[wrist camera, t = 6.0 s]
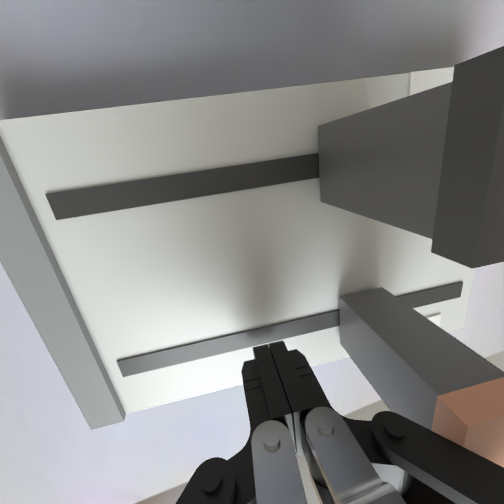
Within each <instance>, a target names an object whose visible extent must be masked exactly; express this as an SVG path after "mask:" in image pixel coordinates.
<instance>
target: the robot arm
mask: <svg viewBox="0 0 504 504" xmlns="http://www.w3.org/2000/svg"><path fill="white" fill-rule="evenodd" d="M253 354H254V359H253V360H248V361H244V363H243V367H242V370H241V374H242V379H243V385H244V391H245V397H246V403H247V408H248V414H249V420H250V427H251V431H250V436H249V439H248V441H247V443H246V445H245V446H244V448H243V449H242V450H241V451H240V452H238V453H237V454H236V455H234V456H233V457H231V458H230V459H229V460H227V461H226V460H225V459H223V458H219V457H216V458H211V459H208V460H206V461H205V462H203V463H202V464H201V465H200V466H199V467H198V468H197V469H196V471H195V472H194V474H193V476H192V477H191V479H190V481H189V482H188V484H187V486H186V487H185V489H184V491H183V492H182V494H181V496H180V498H179V499H178V501H177V502H176V504H308V503H307V499H306V495H305V491H304V487H303V483H302V479H301V474H300V470H299V466H298V462H297V457H296V452H297V455H298V456H300V455H303V454H304V455H305V458H306V461H307V464H308V467H309V476H310V480H311V482H312V485H313V487H314V490H315V492H316V495H317V497H318V500H319V502H320V504H504V467H502V466H500V465H498V464H496V463H494V462H492V461H490V460H488V459H486V458H484V457H482V456H480V455H478V454H476V453H474V452H472V451H470V450H468V449H466V448H464V447H462V446H460V445H458V444H456V443H454V442H453V441H451V440H449V439H447V438H445V437H443V436H441V435H439V434H437V433H435V432H433V431H431V430H429V429H427V428H425V427H423V426H421V425H419V424H417V423H415V422H413V421H411V420H409V419H407V418H405V417H403V416H402V415H399V414H397V413H394V412H390V411H382V412H379V413H377V414H376V415H375V416H374V417H373V419H372V421H362V420H353V419H348V418H346V417H343V416H342V415H340V414H339V413H337V412H336V411H335V410H334V409H333V408H332V407H331V405H330V403H329V401H328V400H327V398H326V396H325V394H324V392H323V390H322V388H321V386H320V384H319V382H318V380H317V378H316V376H315V375H314V372H313V371H312V369H311V367H310V365H309V363H308V361H307V359H306V357H305V356H304V355H303V354H302V353H301V352H300V351H298V350H297V349H294V350H290V351H288V350H287V347H286V345H285V343H284V341H283V340H282V341H277V342H273V343H269V344H265V345H261V346H256V347H253ZM295 449H296V451H295Z"/></svg>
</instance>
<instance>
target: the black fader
mask: <svg viewBox="0 0 504 504" xmlns="http://www.w3.org/2000/svg"><path fill="white" fill-rule="evenodd" d="M318 150H319V176H320V201H321V202H323V203H326V204H329V205H332V206H335V207H338V208H341V209H344V210H347V211H350V212H352V213H355V214H358V215H361V216H364V217H367V218H370V219H373V220H376V221H379V222H382V223H385V224H388V225H391V226H394V227H397V228H400V229H403V230H406V231H409V232H412V233H415V234H418V235H421V236H424V237H427V238H430V239H432V247H431V253H434V254H436V255H439V256H441V257H444V258H446V259H449V260H452V261H454V262H457V263H459V264H462V265H464V266H467V267H469V268H477V267H481V266H486V265H490V264H495V263H499V262H504V46H503V47H500V48H498V49H495V50H493V51H490V52H488V53H485V54H482V55H480V56H477V57H475V58H472V59H470V60H467V61H465V62H462V63H459V64H457V65H454V73H453V81H452V82H450V83H447V84H444V85H441V86H437V87H434V88H431V89H428V90H425V91H422V92H419V93H416V94H413V95H410V96H407V97H404V98H401V99H398V100H395V101H392V102H389V103H386V104H383V105H380V106H377V107H374V108H371V109H368V110H365V111H362V112H359V113H356V114H353V115H349V116H346V117H343V118H340V119H337V120H334V121H331V122H328V123H325V124H322V125H319V126H318Z"/></svg>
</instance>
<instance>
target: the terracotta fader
mask: <svg viewBox="0 0 504 504" xmlns="http://www.w3.org/2000/svg"><path fill="white" fill-rule="evenodd" d="M339 309H340V344H341V345H342V347H343V348H344V349H345V351H346V352H347V353H348V355H349V356H350V357H351V359H352V360H353V361H354V363H355V364H356V365H357V367H358V368H359V369H360V371H361V372H362V373H363V375H364V376H365V377H366V379H367V380H368V381H369V383H370V384H371V385H372V387H373V388H374V389H375V391H376V392H377V393H378V395H379V396H380V397H381V399H382V400H383V401H384V403H385V404H386V405H387V407H388V408H389V409H390V411H391V412H394V413H397V414H399V415H402V416H403V417H405V418H407V419H409V420H411V421H413V422H415V423H417V424H419V425H421V426H423V427H425V428H427V429H429V430H431V431H433V432H435V433H437V434H439V435H441V436H443V437H445V438H447V439H449V440H451V441H453V442H454V443H456V444H458V445H460V446H462V447H464V448H466V449H468V450H470V451H472V452H474V453H476V454H478V455H480V456H482V457H484V458H486V459H488V460H490V461H492V462H494V463H496V464H498V465H500V466H502V467H504V372H503V371H502V370H500V369H499V368H497V367H496V366H494V365H493V364H492V363H490V362H489V361H487V360H486V359H484V358H483V357H482V356H480V355H479V354H477V353H476V352H474V351H473V350H472V349H470V348H469V347H467V346H466V345H464V344H463V343H462V342H460V341H459V340H457V339H456V338H454V337H453V336H452V335H450V334H449V333H447V332H446V331H444V330H443V329H442V328H440V327H439V326H437V325H436V324H434V323H433V322H432V321H430V320H429V319H427V318H426V317H424V316H423V315H422V314H420V313H419V312H417V311H416V310H414V309H413V308H412V307H410V306H409V305H407V304H406V303H404V302H403V301H402V300H400V299H399V298H397V297H396V296H394V295H393V294H392V293H390V292H389V291H387V290H386V289H384V288H383V287H380V288H375V289H371V290H366V291H362V292H357V293H353V294H348V295H344V296H340V297H339Z"/></svg>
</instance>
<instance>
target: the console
mask: <svg viewBox="0 0 504 504" xmlns="http://www.w3.org/2000/svg"><path fill="white" fill-rule="evenodd" d="M453 73H454V67H449V68H440V69H432V70H423V71H414V72H410V73H403V74H395V75H386V76H378V77H369V78H360V79H352V80H343V81H334V82H326V83H317V84H308V85H300V86H291V87H283V88H274V89H265V90H257V91H248V92H239V93H231V94H222V95H214V96H205V97H196V98H188V99H179V100H170V101H162V102H153V103H145V104H136V105H127V106H119V107H110V108H101V109H93V110H84V111H76V112H67V113H58V114H50V115H41V116H32V117H24V118H15V119H7V120H0V262H1V264H2V265H3V267H4V269H5V271H6V273H7V275H8V277H9V278H10V280H11V282H12V284H13V286H14V288H15V290H16V291H17V293H18V295H19V297H20V299H21V301H22V303H23V304H24V306H25V308H26V310H27V312H28V314H29V316H30V317H31V319H32V321H33V323H34V325H35V327H36V328H37V330H38V332H39V334H40V336H41V338H42V340H43V341H44V343H45V345H46V347H47V349H48V351H49V353H50V354H51V356H52V358H53V360H54V362H55V364H56V366H57V367H58V369H59V371H60V373H61V375H62V377H63V379H64V380H65V382H66V384H67V386H68V388H69V390H70V391H71V393H72V395H73V397H74V399H75V401H76V403H77V404H78V406H79V408H80V410H81V412H82V414H83V416H84V417H85V419H86V421H87V423H88V425H89V427H90V429H95V428H99V427H103V426H107V425H111V424H115V423H119V422H123V421H124V419H125V415H126V414H128V413H132V412H136V411H140V410H144V409H148V408H152V407H155V406H159V405H163V404H167V403H171V402H175V401H179V400H183V399H187V398H191V397H195V396H199V395H203V394H207V393H211V392H214V391H218V390H222V389H226V388H230V387H234V386H238V385H242V384H243V379H242V374H241V370H242V367H243V363H244V361H248V360H253V359H254V354H253V347H256V346H261V345H265V344H269V343H273V342H277V341H282V340H283V341H284V343H285V345H286V347H287V350H288V351H290V350H294V349H297V350H298V351H300V352H301V353H302V354H303V355H304V356H305V357H306V359H307V361H308V363H309V365H310V367H313V366H317V365H321V364H325V363H329V362H333V361H336V360H340V359H344V358H348V357H350V356H349V355H348V353H347V352H346V351H345V349H344V348H343V347H342V345H341V344H340V309H339V297H340V296H344V295H348V294H353V293H357V292H362V291H366V290H371V289H375V288H380V287H383V288H384V289H386V290H387V291H389V292H390V293H392V294H393V295H394V296H396V297H397V298H399V299H400V300H402V301H403V302H404V303H406V304H407V305H409V306H410V307H412V308H413V309H414V310H416V311H417V312H419V313H420V314H422V315H423V316H424V317H426V318H427V319H429V320H430V321H432V322H433V323H434V324H436V325H437V326H439V327H440V328H442V329H443V330H444V331H446V332H451V331H454V330H458V329H462V328H463V327H464V322H465V317H466V312H467V307H468V302H469V297H470V292H471V287H472V282H473V277H474V272H475V268H469V267H467V266H464V265H462V264H459V263H457V262H454V261H452V260H449V259H446V258H444V257H441V256H439V255H436V254H434V253H431V247H432V239H430V238H427V237H424V236H421V235H418V234H415V233H412V232H409V231H406V230H403V229H400V228H397V227H394V226H391V225H388V224H385V223H382V222H379V221H376V220H373V219H370V218H367V217H364V216H361V215H358V214H355V213H352V212H350V211H347V210H344V209H341V208H338V207H335V206H332V205H329V204H326V203H323V202H321V201H320V176H319V150H318V126H319V125H322V124H325V123H328V122H331V121H334V120H337V119H340V118H343V117H346V116H349V115H353V114H356V113H359V112H362V111H365V110H368V109H371V108H374V107H377V106H380V105H383V104H386V103H389V102H392V101H395V100H398V99H401V98H404V97H407V96H410V95H413V94H416V93H419V92H422V91H425V90H428V89H431V88H434V87H437V86H441V85H444V84H447V83H450V82H452V81H453Z"/></svg>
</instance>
